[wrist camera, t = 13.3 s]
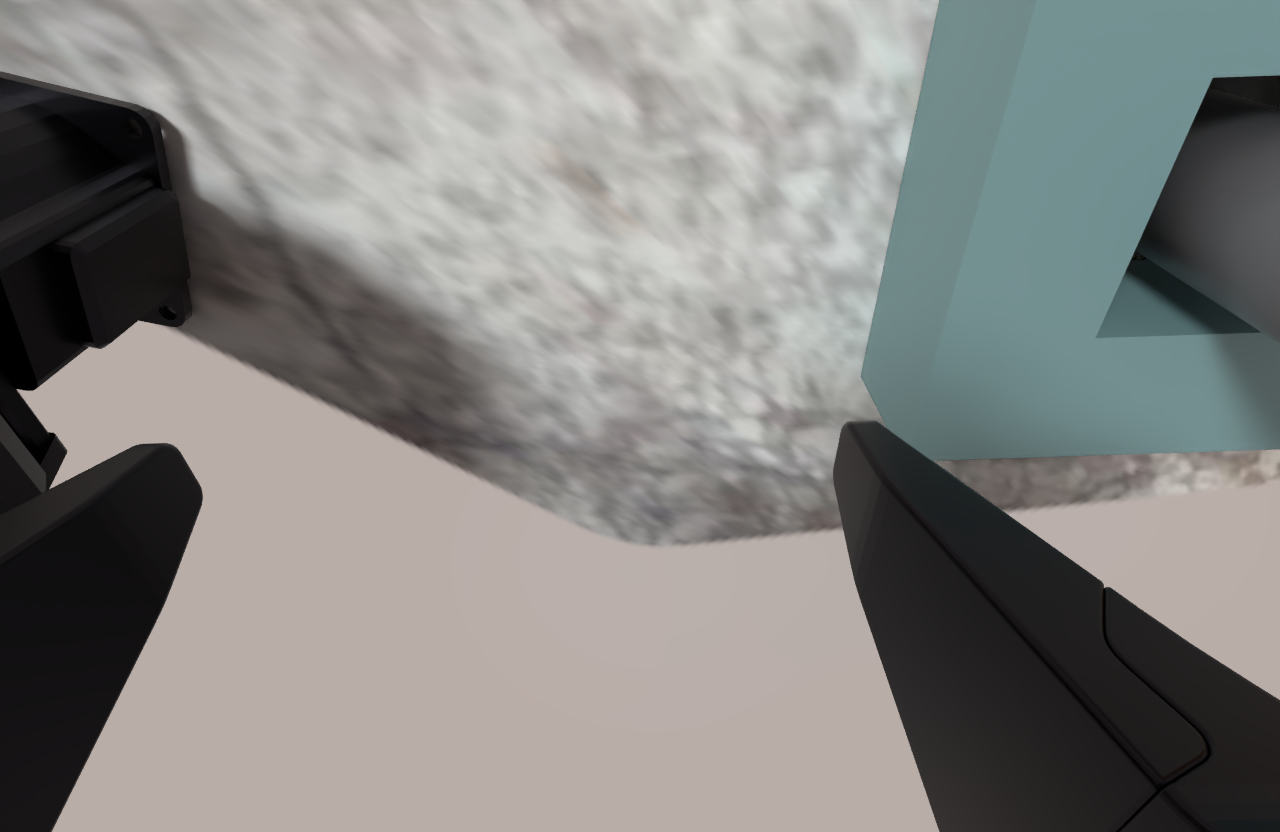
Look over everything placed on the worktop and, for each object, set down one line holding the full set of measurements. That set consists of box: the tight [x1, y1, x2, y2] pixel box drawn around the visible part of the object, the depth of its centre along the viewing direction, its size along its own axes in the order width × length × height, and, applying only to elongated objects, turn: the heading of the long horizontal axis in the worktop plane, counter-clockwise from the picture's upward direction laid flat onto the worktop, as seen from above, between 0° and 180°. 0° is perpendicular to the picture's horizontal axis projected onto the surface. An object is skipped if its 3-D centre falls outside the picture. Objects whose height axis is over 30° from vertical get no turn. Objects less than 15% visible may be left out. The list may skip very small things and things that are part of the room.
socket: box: [861, 0, 1280, 461], centre depth 17 cm, size 14×14×4 cm
